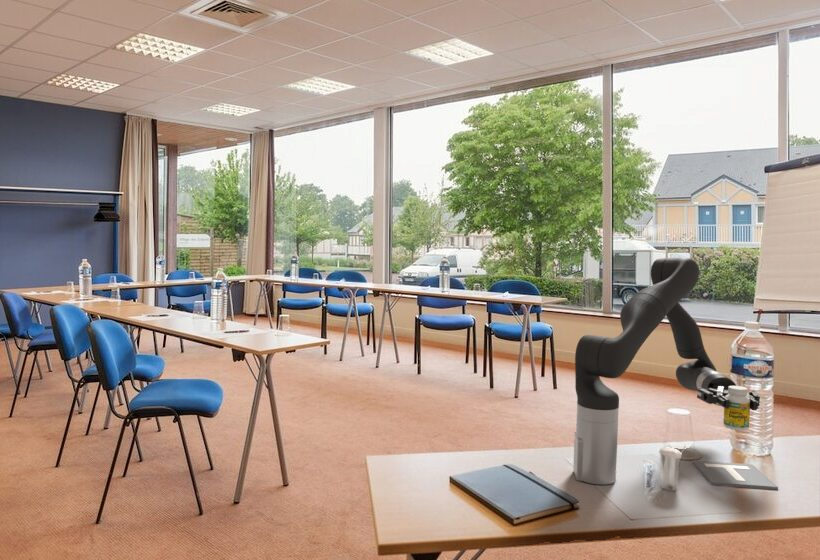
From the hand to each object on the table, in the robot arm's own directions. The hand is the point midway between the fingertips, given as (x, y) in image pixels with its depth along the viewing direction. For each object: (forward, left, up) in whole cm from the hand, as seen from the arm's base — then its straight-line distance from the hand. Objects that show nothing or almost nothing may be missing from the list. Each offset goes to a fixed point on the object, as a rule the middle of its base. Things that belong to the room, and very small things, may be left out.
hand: (741, 405), depth 138 cm
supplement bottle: (0, +3, -6) cm, 7 cm away
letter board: (0, +3, -18) cm, 18 cm away
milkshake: (-17, -8, -18) cm, 26 cm away
